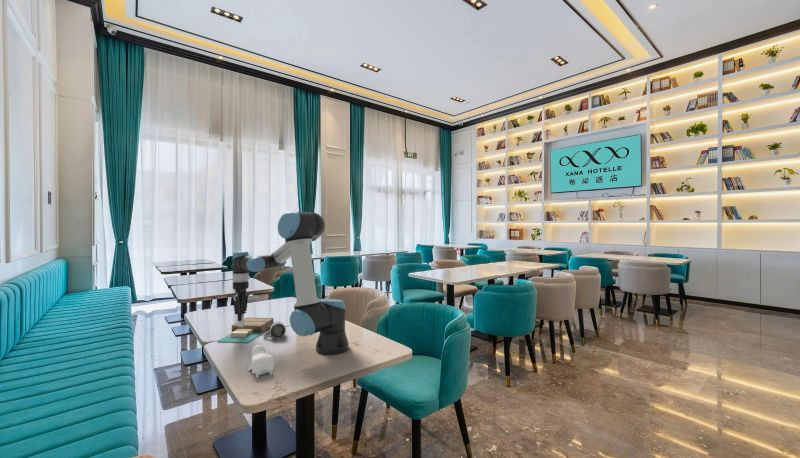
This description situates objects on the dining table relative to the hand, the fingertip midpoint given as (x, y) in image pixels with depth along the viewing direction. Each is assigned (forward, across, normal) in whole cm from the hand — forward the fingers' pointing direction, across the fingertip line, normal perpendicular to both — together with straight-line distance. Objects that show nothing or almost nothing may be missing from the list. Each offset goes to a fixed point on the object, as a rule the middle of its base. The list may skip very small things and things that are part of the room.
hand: (240, 326), depth 181 cm
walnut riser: (+5, -14, 0) cm, 14 cm away
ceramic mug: (+6, 0, +18) cm, 19 cm away
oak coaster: (+5, -1, 0) cm, 5 cm away
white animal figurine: (+6, +40, +30) cm, 50 cm away
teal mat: (+5, +2, +1) cm, 6 cm away
